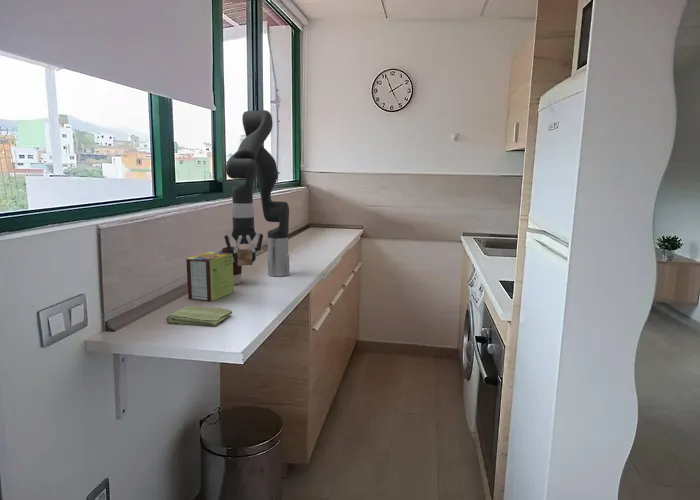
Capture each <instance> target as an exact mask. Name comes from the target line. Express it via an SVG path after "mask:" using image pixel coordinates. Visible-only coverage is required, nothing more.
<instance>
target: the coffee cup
mask: <svg viewBox="0 0 700 500" xmlns="http://www.w3.org/2000/svg"><path fill="white" fill-rule="evenodd" d="M231 248H234V246H231ZM238 249H240V248H239V247H238ZM218 252H219V253H232V254H233V285H239V284H241V282H242V270H243V265H242V266H238V263H236V262H234V253H233V252H229V251H228V248H227V246H225V247H223V248H222V249H221V250H220V251H218Z"/></svg>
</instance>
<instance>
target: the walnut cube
mask: <svg viewBox="0 0 700 500" xmlns="http://www.w3.org/2000/svg"><path fill="white" fill-rule="evenodd" d="M237 253H238V266H242V267H243V266H253V263H252V250H251V248H239V249H238V250H237Z"/></svg>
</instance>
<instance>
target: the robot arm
mask: <svg viewBox="0 0 700 500" xmlns="http://www.w3.org/2000/svg"><path fill="white" fill-rule="evenodd" d="M241 117H242V126H243V131H244V133H245V136H246V137H245V138H244V139H243V140H242V141H241V142H240V144H239V147H238V149H237V150H236V152H235V153H234V154H233V155H231V156H230V157H229V159H228V160H227V162H226V164H225V173H226V175H227V176H228V177H229V178H230V179H233V180H245V181H244V183H243V184H241V185H235V186H233V187H232V190H231V191H232V192H231V195H232V196H231V197H232V198H231V199H232V207H231V209H232V211H231V216H232V232H231V233H229V234H224V241H225V243H226V247H227V248H228V251H229V252H233V253H234V262H236V263H238V253H237V250H238V248H239V247H240V245H244V244H245V245H249V247H250V249H251V250H252V264H253V263H254V262H255V261H256V253H257V251H260V250H261V248H262V245H263V244H262V243H263V239H264V235H263V233H261V232H260V233H259V232H256V231H255V211H254V210H255V209H254V208H255V207H254V202H253V199H254V197H253V193H254V192H253V189H254V185H255V179H256V180H257V184H258V189H259V193H260V200H261V201H260V202H261V207H262V213H263V217H264V219H265V221H266V222H270V223H279V224H278V226H277V227H275V228H272V229H270V230H267V270H268V271H267V273H268V276H269V277H275V278H276V277H277V278H278V277H286V276H290V254H289V229H290V225H289V223H290V207H289V203H288V202H287V201H273V200H272V197H271V194H272V191H273V189H274V187H275V185H276V183H277V181H278V178H279V171H278V167H277V163H276V159H275V158H274V157H273V155H272V154H271V153H270V151H268V150H267V149H266V148H265V147H264V146H263V144H264V143H265V141H266V140H267V138H268V137H269V135H270V134H271V132H272V130H273V117H272V114H271V113H270V111H269V110H264V109H259V110H247V111H244V112H243V114H242V116H241ZM255 237H256V239H257V243H256V246H254V244H253V240H254V239H255ZM232 238H233V239H234V241H235V244H234V246H233V247H234V248H231V247H232V246H231V242H230V241H231V240H232Z"/></svg>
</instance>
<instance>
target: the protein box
mask: <svg viewBox="0 0 700 500" xmlns="http://www.w3.org/2000/svg"><path fill="white" fill-rule="evenodd" d="M219 252H220V251H218V252H217V251H216V252H215V251H207V252H206V253H205V252H204V253H201V254H197V255H195V256H190V257H187V258H186V259H185V260H186V261H185V262H186V263H185V264H186V279H187V281H186V282H187V296H188V297H187V299H188V300H194V301H203V302H213V301H215V300H218V299H221V298H222V297H225V296H227V295H230V294H232V293H234V292H235V291H234V288H235V287H234V285H233V254H232V253H219Z"/></svg>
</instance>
